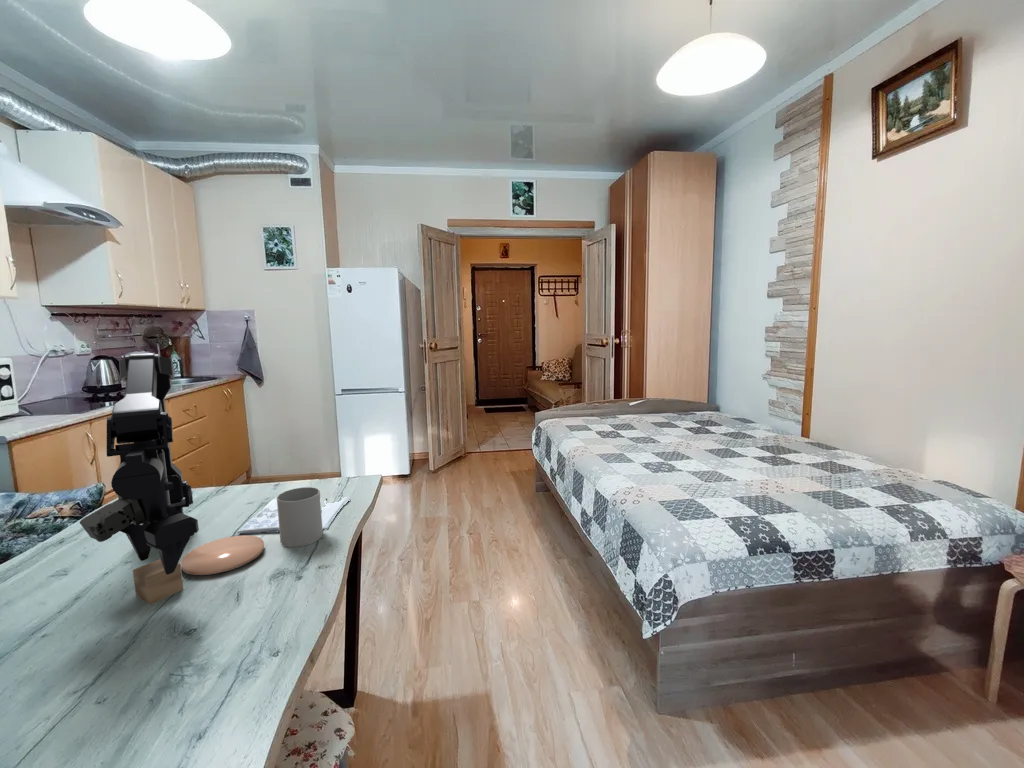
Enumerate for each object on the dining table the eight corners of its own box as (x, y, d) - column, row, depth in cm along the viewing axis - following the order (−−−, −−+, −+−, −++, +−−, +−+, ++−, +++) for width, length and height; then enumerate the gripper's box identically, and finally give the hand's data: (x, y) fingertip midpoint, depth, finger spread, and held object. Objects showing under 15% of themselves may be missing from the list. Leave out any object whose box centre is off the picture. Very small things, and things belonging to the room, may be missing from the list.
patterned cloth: (275, 503, 119) (274, 496, 118) (352, 501, 120) (352, 493, 119) (235, 537, 100) (234, 528, 99) (327, 534, 101) (327, 525, 101)
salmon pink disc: (167, 566, 87) (166, 559, 87) (239, 536, 99) (239, 530, 99) (206, 585, 80) (205, 578, 80) (279, 551, 92) (278, 544, 92)
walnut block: (136, 596, 77) (132, 569, 77) (169, 582, 82) (166, 556, 81) (150, 605, 75) (146, 577, 74) (183, 589, 79) (180, 563, 79)
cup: (306, 548, 93) (302, 503, 92) (271, 545, 95) (267, 500, 94) (330, 530, 101) (327, 488, 100) (298, 527, 103) (295, 486, 102)
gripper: (60, 486, 73) (73, 575, 75) (110, 508, 64) (124, 608, 66) (141, 467, 83) (151, 546, 85) (195, 483, 74) (205, 571, 76)
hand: (156, 566), depth 78 cm, fingers open, 9 cm apart
